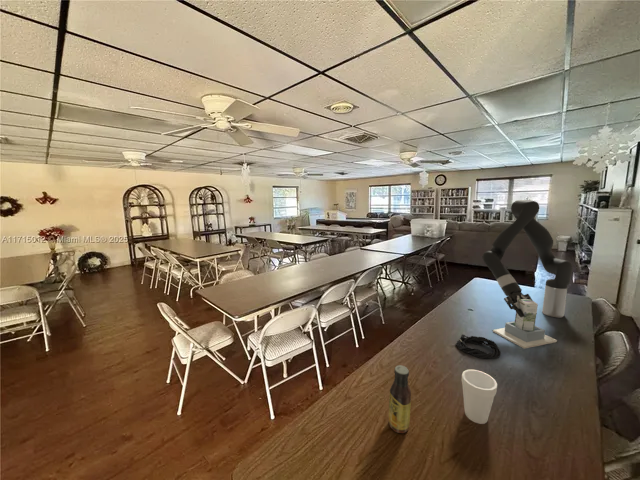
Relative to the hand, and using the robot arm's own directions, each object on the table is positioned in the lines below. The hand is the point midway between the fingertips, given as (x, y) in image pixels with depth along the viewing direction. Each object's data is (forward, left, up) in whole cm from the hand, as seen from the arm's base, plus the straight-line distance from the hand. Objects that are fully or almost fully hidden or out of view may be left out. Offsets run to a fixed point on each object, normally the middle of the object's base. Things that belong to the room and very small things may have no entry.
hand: (528, 315), depth 124 cm
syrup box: (0, -2, -8) cm, 8 cm away
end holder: (0, -1, -12) cm, 12 cm away
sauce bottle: (+87, +28, -12) cm, 92 cm away
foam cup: (+61, +31, -12) cm, 69 cm away
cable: (+31, +2, -12) cm, 33 cm away
